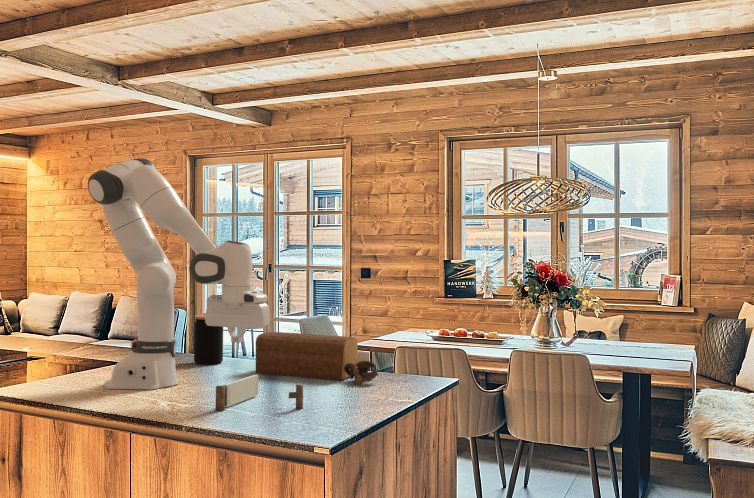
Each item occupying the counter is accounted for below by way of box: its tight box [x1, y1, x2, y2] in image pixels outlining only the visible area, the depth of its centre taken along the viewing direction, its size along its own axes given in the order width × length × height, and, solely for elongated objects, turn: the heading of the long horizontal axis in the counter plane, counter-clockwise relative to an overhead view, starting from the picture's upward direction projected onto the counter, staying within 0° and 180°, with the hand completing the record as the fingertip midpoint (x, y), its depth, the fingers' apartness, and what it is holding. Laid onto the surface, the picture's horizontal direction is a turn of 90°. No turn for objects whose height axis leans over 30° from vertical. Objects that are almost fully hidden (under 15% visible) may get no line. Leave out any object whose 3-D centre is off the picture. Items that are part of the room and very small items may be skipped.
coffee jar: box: [193, 313, 224, 366], centre depth 266 cm, size 11×11×18 cm
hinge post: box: [214, 385, 226, 412], centre depth 191 cm, size 2×2×6 cm
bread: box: [255, 331, 358, 381], centre depth 248 cm, size 14×34×14 cm, turn 70°
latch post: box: [288, 383, 304, 410], centre depth 195 cm, size 4×3×6 cm, turn 100°
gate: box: [222, 374, 259, 408], centre depth 202 cm, size 17×1×6 cm, turn 160°
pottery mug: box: [344, 360, 379, 386], centre depth 234 cm, size 12×10×8 cm
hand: (236, 342), depth 208 cm, fingers closed
